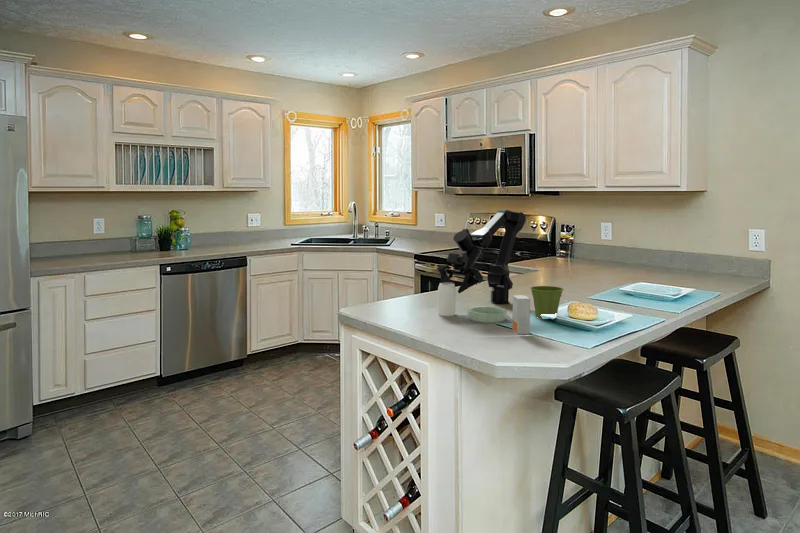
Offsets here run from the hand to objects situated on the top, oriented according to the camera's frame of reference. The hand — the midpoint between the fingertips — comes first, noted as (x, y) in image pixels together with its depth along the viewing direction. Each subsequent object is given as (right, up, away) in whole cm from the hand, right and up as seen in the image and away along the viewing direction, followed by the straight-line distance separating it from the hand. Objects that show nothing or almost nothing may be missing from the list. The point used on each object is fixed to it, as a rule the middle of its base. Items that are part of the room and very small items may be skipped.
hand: (449, 290), depth 206 cm
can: (-1, -9, 0) cm, 9 cm away
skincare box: (+21, -13, -25) cm, 35 cm away
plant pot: (+35, -10, -4) cm, 37 cm away
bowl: (+13, -10, -7) cm, 18 cm away
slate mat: (+13, -10, -7) cm, 18 cm away
